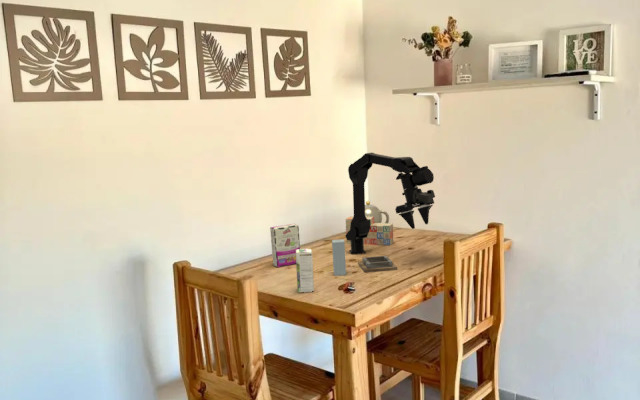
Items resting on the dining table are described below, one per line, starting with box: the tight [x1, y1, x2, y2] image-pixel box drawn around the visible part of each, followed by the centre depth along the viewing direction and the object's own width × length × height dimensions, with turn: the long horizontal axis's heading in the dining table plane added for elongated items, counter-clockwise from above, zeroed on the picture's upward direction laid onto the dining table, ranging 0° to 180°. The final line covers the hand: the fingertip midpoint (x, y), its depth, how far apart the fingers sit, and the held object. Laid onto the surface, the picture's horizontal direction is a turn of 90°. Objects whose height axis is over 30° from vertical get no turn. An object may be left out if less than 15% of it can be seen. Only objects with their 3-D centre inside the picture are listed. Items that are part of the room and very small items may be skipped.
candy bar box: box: [269, 223, 301, 268], centre depth 243 cm, size 11×5×16 cm, turn 117°
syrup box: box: [295, 248, 315, 294], centre depth 207 cm, size 6×6×14 cm
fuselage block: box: [331, 238, 347, 277], centre depth 225 cm, size 4×4×13 cm
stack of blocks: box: [345, 215, 394, 246], centre depth 274 cm, size 21×6×12 cm, turn 67°
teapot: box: [365, 200, 390, 223], centre depth 296 cm, size 18×14×16 cm
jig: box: [357, 255, 398, 273], centre depth 233 cm, size 13×13×3 cm
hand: (420, 226), depth 232 cm, fingers open, 9 cm apart
